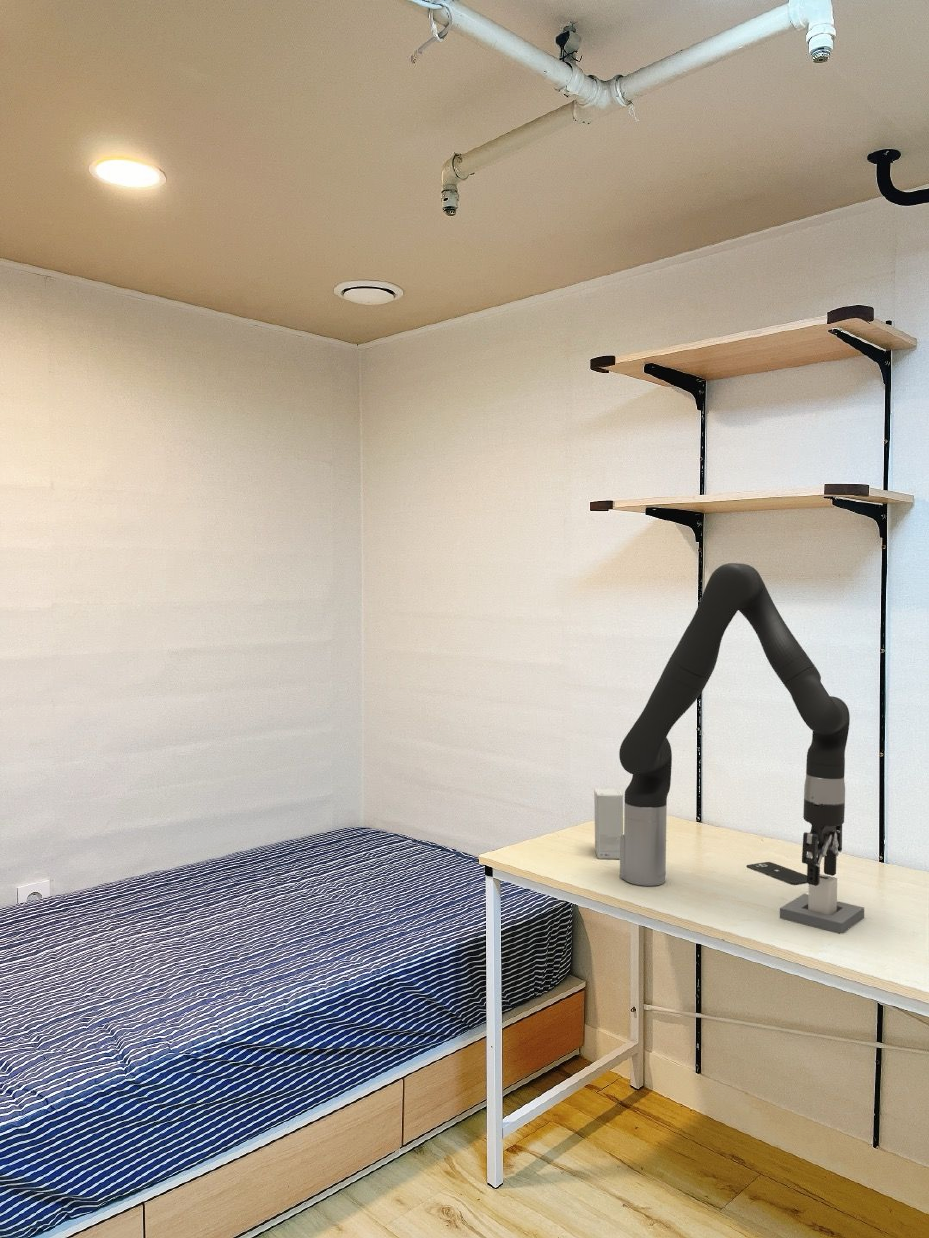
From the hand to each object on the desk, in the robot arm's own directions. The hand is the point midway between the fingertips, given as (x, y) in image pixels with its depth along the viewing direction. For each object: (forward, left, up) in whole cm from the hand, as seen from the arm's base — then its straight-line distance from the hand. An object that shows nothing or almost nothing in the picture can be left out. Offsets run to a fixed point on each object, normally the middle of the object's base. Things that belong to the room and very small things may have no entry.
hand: (821, 879), depth 179 cm
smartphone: (-18, +22, -8) cm, 29 cm away
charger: (0, 0, -8) cm, 8 cm away
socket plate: (0, 0, -8) cm, 8 cm away
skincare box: (-55, +7, -8) cm, 56 cm away
